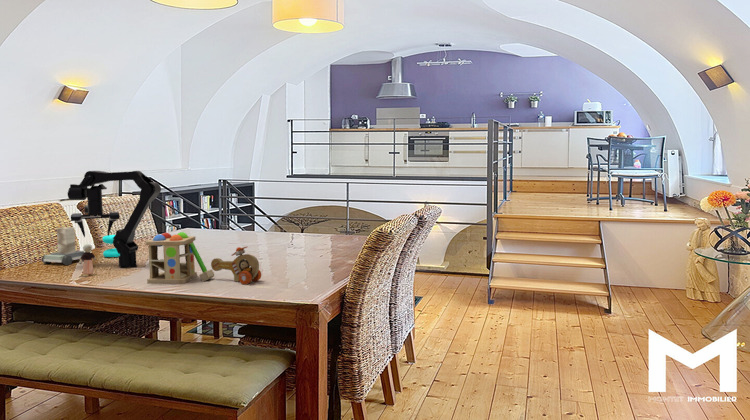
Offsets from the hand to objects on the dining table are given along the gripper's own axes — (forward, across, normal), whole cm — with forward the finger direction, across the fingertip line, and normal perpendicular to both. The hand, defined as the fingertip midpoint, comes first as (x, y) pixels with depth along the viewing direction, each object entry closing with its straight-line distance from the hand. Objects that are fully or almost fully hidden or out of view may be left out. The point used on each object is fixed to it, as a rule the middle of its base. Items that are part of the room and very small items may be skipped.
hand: (96, 236), depth 253 cm
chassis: (+13, +12, -18) cm, 25 cm away
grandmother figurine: (+13, +3, +20) cm, 24 cm away
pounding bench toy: (+13, -30, +45) cm, 56 cm away
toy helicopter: (+13, -48, +58) cm, 76 cm away
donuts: (+13, -7, -26) cm, 30 cm away
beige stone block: (+10, +13, -17) cm, 24 cm away
